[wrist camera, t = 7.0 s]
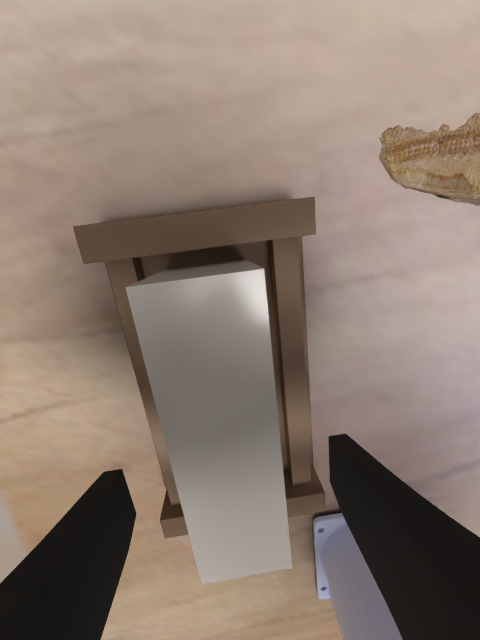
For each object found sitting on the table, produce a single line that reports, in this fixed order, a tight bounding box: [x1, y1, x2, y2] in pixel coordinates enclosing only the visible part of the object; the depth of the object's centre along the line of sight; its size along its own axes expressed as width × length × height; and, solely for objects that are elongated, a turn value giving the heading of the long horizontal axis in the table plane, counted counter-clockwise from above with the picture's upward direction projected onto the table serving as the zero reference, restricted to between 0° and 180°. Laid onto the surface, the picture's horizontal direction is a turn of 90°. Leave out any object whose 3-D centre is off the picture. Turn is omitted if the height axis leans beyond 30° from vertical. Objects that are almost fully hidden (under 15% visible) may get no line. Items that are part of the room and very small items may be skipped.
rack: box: [73, 197, 325, 538], centre depth 14 cm, size 18×10×3 cm, turn 7°
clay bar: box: [125, 259, 292, 584], centre depth 12 cm, size 13×4×6 cm, turn 7°
